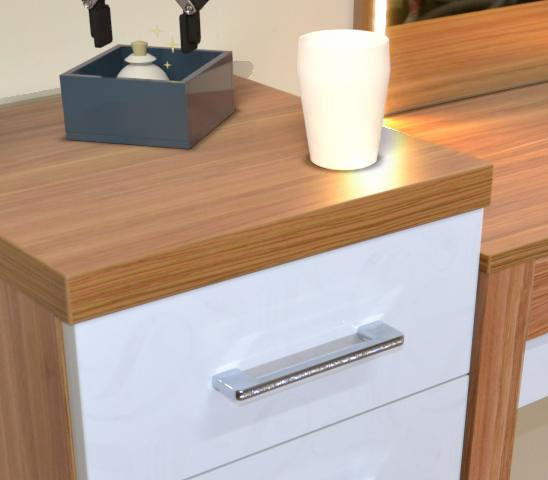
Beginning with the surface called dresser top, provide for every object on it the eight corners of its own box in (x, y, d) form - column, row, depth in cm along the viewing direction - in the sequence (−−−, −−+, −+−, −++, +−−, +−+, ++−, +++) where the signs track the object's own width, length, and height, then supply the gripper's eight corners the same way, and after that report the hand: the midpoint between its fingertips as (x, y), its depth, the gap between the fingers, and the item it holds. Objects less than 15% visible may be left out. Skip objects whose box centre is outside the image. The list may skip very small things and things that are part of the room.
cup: (357, 181, 109) (358, 54, 104) (280, 164, 113) (277, 41, 108) (405, 156, 116) (408, 36, 110) (331, 141, 120) (330, 25, 115)
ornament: (124, 109, 127) (116, 18, 123) (190, 111, 127) (185, 19, 123) (110, 125, 122) (101, 30, 118) (179, 126, 122) (173, 31, 117)
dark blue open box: (189, 149, 117) (184, 83, 114) (66, 139, 120) (58, 75, 117) (235, 111, 130) (232, 50, 127) (123, 103, 133) (118, 44, 130)
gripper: (35, -126, 112) (54, 50, 119) (203, -120, 109) (212, 61, 116) (70, -131, 119) (86, 36, 126) (229, -126, 115) (236, 45, 123)
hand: (146, 48), depth 121 cm, fingers open, 9 cm apart
